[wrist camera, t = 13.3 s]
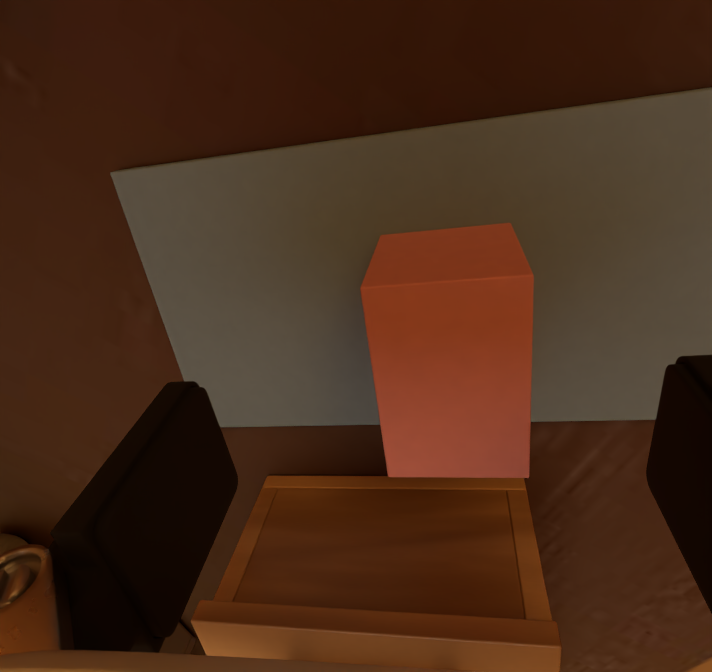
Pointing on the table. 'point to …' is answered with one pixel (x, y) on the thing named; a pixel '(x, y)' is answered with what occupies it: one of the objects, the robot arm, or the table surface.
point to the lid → (377, 637)
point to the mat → (433, 212)
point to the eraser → (452, 351)
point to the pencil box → (391, 547)
